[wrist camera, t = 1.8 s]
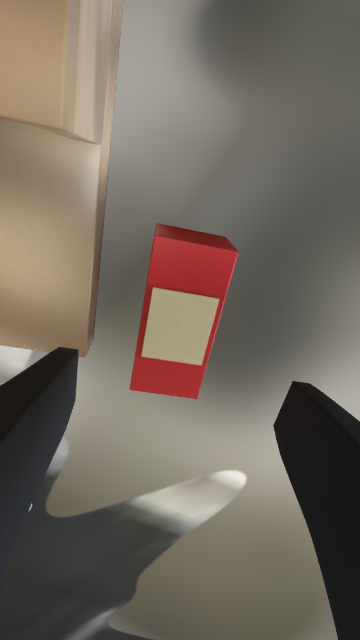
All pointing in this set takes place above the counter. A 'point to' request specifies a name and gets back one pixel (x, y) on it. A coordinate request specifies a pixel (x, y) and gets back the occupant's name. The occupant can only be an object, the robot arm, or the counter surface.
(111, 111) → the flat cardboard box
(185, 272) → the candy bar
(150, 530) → the counter surface
